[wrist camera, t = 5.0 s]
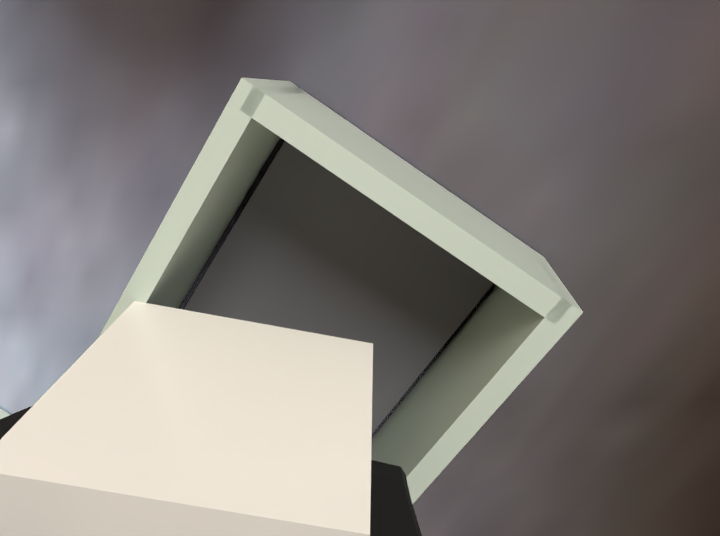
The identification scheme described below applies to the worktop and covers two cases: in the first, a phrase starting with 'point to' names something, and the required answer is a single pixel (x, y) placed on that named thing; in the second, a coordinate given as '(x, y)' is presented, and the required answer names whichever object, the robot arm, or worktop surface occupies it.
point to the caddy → (413, 206)
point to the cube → (196, 434)
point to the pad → (340, 273)
